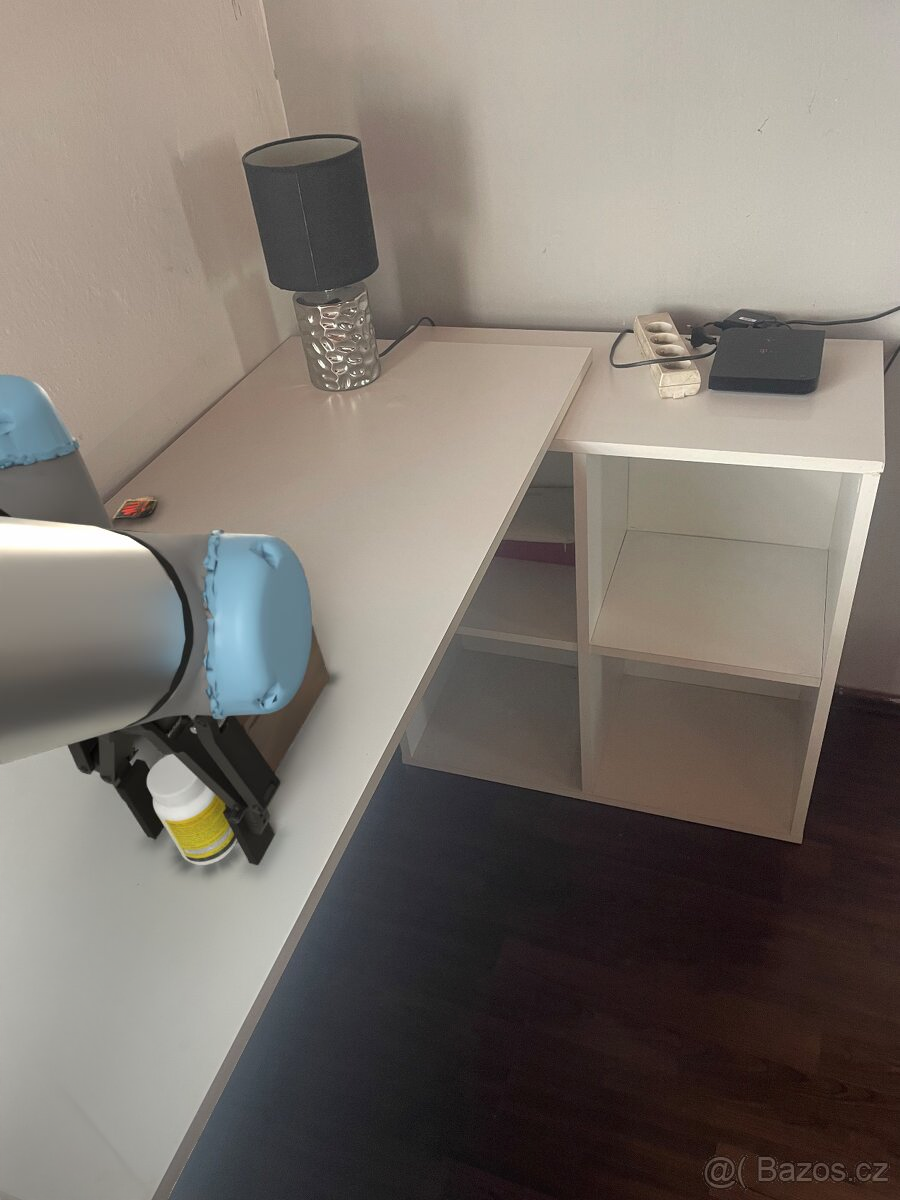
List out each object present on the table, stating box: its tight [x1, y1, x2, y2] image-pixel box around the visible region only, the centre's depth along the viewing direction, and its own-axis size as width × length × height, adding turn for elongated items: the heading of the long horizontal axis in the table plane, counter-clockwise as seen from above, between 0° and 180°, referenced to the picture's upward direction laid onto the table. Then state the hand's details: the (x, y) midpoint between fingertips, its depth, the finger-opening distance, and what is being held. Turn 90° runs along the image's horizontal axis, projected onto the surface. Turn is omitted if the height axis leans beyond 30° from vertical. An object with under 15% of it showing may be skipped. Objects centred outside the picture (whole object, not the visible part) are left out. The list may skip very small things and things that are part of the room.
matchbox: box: [111, 495, 157, 523], centre depth 105 cm, size 5×5×1 cm
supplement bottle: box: [147, 754, 238, 866], centre depth 65 cm, size 5×5×8 cm
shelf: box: [177, 623, 330, 773], centre depth 74 cm, size 12×16×10 cm
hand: (210, 835), depth 67 cm, fingers open, 9 cm apart
